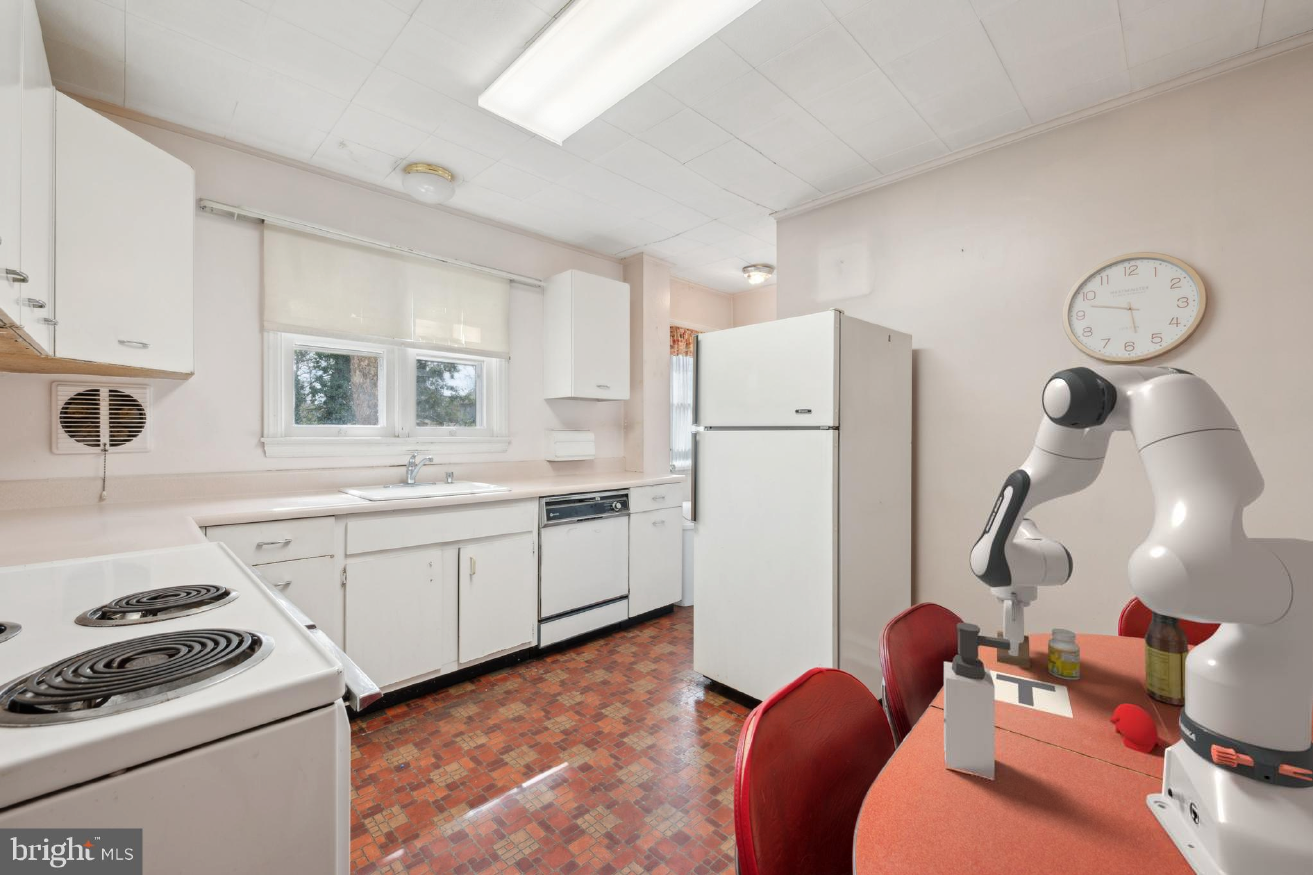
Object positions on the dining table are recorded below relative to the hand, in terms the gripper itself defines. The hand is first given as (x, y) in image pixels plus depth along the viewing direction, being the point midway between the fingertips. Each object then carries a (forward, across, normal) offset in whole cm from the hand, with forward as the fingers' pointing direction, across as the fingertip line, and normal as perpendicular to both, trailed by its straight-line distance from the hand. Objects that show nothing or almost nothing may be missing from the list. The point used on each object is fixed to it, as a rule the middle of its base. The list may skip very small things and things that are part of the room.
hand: (1013, 648), depth 120 cm
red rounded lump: (+4, -26, -17) cm, 31 cm away
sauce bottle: (+4, -3, -25) cm, 25 cm away
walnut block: (+4, 0, 0) cm, 4 cm away
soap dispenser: (+4, -47, +5) cm, 47 cm away
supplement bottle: (+4, -2, -9) cm, 10 cm away
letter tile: (+3, -16, -2) cm, 16 cm away
